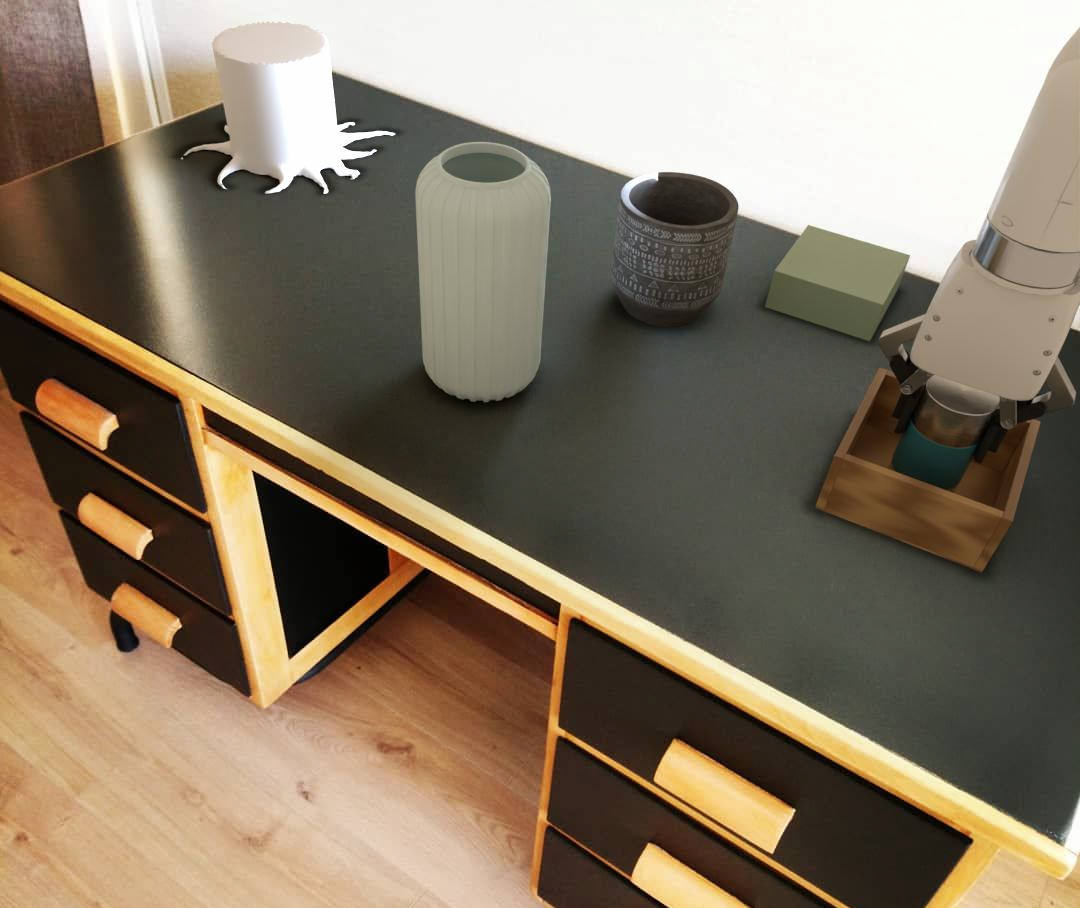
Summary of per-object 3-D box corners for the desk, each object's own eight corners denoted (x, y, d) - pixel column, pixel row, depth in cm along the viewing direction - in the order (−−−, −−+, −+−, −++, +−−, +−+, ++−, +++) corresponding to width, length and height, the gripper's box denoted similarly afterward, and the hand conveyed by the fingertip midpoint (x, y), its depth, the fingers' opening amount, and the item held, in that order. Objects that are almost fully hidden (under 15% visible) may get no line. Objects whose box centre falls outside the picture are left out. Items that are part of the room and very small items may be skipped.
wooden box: (1009, 475, 88) (1040, 421, 83) (979, 575, 79) (1013, 521, 74) (858, 421, 92) (879, 367, 87) (813, 510, 83) (834, 455, 78)
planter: (718, 286, 108) (742, 179, 99) (712, 346, 100) (736, 236, 90) (614, 271, 109) (627, 164, 100) (599, 329, 101) (612, 218, 91)
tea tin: (957, 480, 86) (1007, 384, 78) (942, 521, 82) (993, 424, 74) (892, 457, 88) (934, 360, 80) (875, 495, 84) (917, 398, 76)
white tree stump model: (304, 215, 114) (288, 98, 104) (145, 165, 121) (115, 50, 110) (412, 139, 130) (406, 31, 120) (265, 98, 136) (249, -7, 126)
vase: (508, 335, 99) (516, 124, 83) (558, 398, 92) (577, 181, 76) (406, 360, 95) (393, 143, 79) (450, 427, 88) (446, 205, 72)
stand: (895, 294, 109) (910, 255, 105) (868, 344, 101) (883, 304, 98) (797, 263, 112) (808, 224, 109) (763, 310, 105) (774, 270, 101)
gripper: (1162, 262, 68) (1049, 450, 81) (923, 196, 73) (854, 383, 86) (1153, 311, 63) (1036, 502, 76) (899, 237, 68) (830, 428, 81)
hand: (940, 437), depth 81 cm, fingers closed on tea tin, 6 cm apart
